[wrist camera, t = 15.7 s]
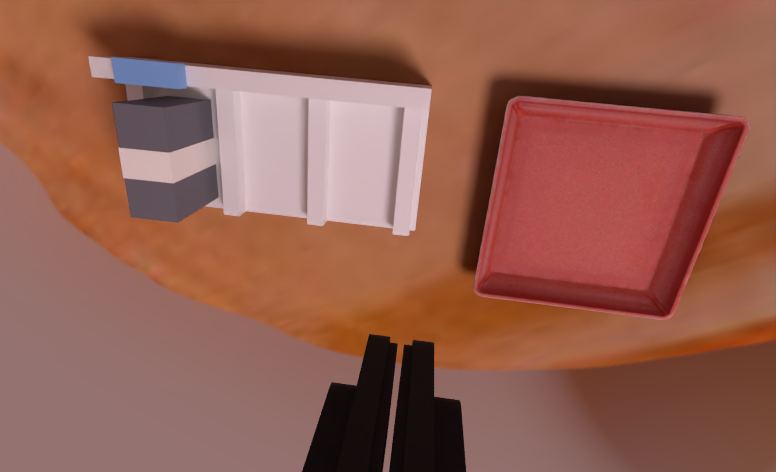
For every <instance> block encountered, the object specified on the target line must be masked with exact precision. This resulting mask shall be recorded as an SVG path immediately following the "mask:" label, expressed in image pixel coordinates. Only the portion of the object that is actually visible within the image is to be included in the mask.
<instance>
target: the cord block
mask: <svg viewBox="0 0 776 472" xmlns="http://www.w3.org/2000/svg"><path fill="white" fill-rule="evenodd" d="M112 106H113V112H114V118H115V124H116V130H117V136H118V142H119V148H118V149H119V155H120V161H121V167H122V173H123V178H125V184H126V190H127V196H128V202H129V208H130V214H131V217H134V218H143V219H151V220H160V221H169V222H180V221H181V220H183V219H184V218H186V217H188V216H189V215H191V214H192V213H194V212H196V211H197V210H199V209H201V208H202V207H204V206H205V205H207V204H209V203H210V202H212V201H214V200H215V199H217V198H218V197H219V196H218V183H217V171H216V164H217V161H216V149H215V138H214V133H213V121H212V108H211V100H205V99H195V98H184V97H173V96H163V97H155V98H146V99H138V100H130V101H121V102H113V103H112Z"/></svg>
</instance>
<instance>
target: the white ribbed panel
mask: <svg viewBox="0 0 776 472" xmlns="http://www.w3.org/2000/svg"><path fill="white" fill-rule="evenodd" d="M88 57H89V63H90V69H91V74H92V77H98V78H108V79H114V80H115V83H121V84H125V87H126V93H127V100H128V101H130V100H138V99H146V98H155V97H163V96H173V97H184V98H195V99H205V100H211V108H212V121H213V133H214V138H215V149H216V161H217V164H216V171H217V183H218V196H219V197H218V198H217V199H215V200H214V201H212V202H210V203H209V204H207V205H205V206H207V207H216V208H224V214H225V215H234V216H240V215H242V214H243V213H244V212H246V211H250V212H259V213H267V214H276V215H284V216H293V217H301V218H307V224H310V225H319V226H323V225H324V224H325V222H326V221H336V222H344V223H353V224H361V225H370V226H378V227H387V228H393V234H395V235H404V236H409V231H410V230H413V231H415V226H416V218H417V209H418V201H419V192H420V184H421V175H422V167H423V158H424V150H425V141H426V133H427V124H428V116H429V107H430V99H431V90H432V86H431V85H420V84H409V83H399V82H388V81H378V80H367V79H357V78H346V77H336V76H325V75H315V74H304V73H294V72H283V71H273V70H262V69H252V68H241V67H230V66H220V65H209V64H199V63H188V62H178V61H167V60H157V59H146V58H136V57H104V56H88Z"/></svg>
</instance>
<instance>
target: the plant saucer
mask: <svg viewBox="0 0 776 472" xmlns="http://www.w3.org/2000/svg"><path fill="white" fill-rule="evenodd" d="M749 127H750V124H749V122H748V120H747V119H746V118H745V117H741V116H731V115H721V114H709V113H699V112H688V111H678V110H666V109H655V108H644V107H635V106H624V105H614V104H601V103H593V102H582V101H572V100H561V99H550V98H542V97H531V96H516V97H513V98H511V99H510V100H509V101H508V103H507V106H506V111H505V117H504V123H503V128H502V133H501V139H500V145H499V150H498V156H497V161H496V167H495V172H494V177H493V183H492V188H491V194H490V199H489V205H488V210H487V214H486V220H485V226H484V232H483V237H482V243H481V247H480V253H479V258H478V264H477V269H476V274H475V280H474V285H473V290H474V292H475V293H476V294H477V295H478V296H482V297H490V298H496V299H505V300H513V301H522V302H529V303H536V304H544V305H552V306H560V307H567V308H575V309H583V310H591V311H598V312H606V313H614V314H621V315H629V316H636V317H644V318H652V319H660V320H663V319H667V318H670V317H671V316H672V315H673V314H674V312H675V310H676V307H677V305H678V303H679V300H680V298H681V295H682V293H683V291H684V289H685V286H686V283H687V281H688V278H689V276H690V274H691V271H692V269H693V267H694V264H695V261H696V259H697V257H698V254H699V252H700V250H701V248H702V245H703V242H704V239H705V237H706V235H707V233H708V230H709V227H710V225H711V222H712V220H713V218H714V215H715V213H716V211H717V208H718V205H719V203H720V200H721V198H722V196H723V193H724V190H725V188H726V186H727V183H728V180H729V178H730V176H731V174H732V171H733V168H734V165H735V163H736V161H737V159H738V156H739V153H740V151H741V149H742V146H743V144H744V142H745V139H746V136H747V134H748V131H749Z"/></svg>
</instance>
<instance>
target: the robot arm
mask: <svg viewBox="0 0 776 472" xmlns="http://www.w3.org/2000/svg"><path fill="white" fill-rule="evenodd" d="M396 354H397V344H396V343H390V337H387V336H380V335H372V334H370V335H369V338H368V342H367V346H366V350H365V354H364V358H363V362H362V367H361V371H360V375H359V379H358V383H357V386H354V385H346V384H340V383H333V382H332V383H331V385H330V388H329V391H328V394H327V397H326V400H325V403H324V406H323V409H322V412H321V415H320V418H319V422H318V424H317V428H316V431H315V434H314V437H313V440H312V443H311V446H310V449H309V452H308V455H307V459H306V461H305V464H304V467H303V471H302V472H382V471H383V463H384V455H385V448H386V440H387V432H388V423H389V415H390V406H391V397H392V389H393V380H394V371H395V362H396ZM389 472H466V464H465V451H464V438H463V425H462V412H461V403H460V401H459V400H454V399H446V398H439V397H434V343H432V342H425V341H417V340H413V344H412V346H411V345H404V351H403V359H402V367H401V376H400V384H399V393H398V400H397V409H396V417H395V425H394V434H393V443H392V453H391V461H390V471H389Z"/></svg>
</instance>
